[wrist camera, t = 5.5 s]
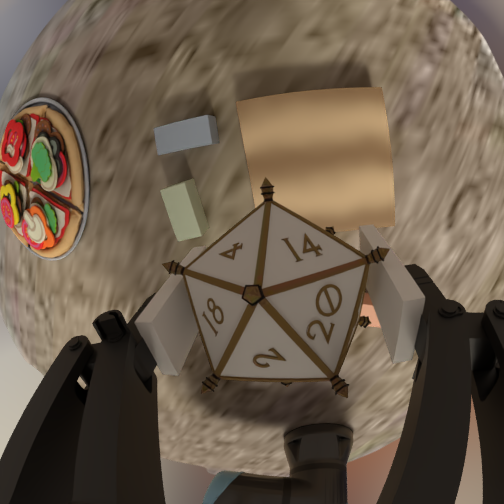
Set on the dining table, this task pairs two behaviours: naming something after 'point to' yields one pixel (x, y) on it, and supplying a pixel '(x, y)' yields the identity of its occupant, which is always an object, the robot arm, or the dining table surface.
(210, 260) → the game die
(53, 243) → the toy pizza
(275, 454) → the dining table surface
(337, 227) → the oak block
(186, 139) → the slate blue brick
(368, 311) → the terracotta brick
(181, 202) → the sage brick
